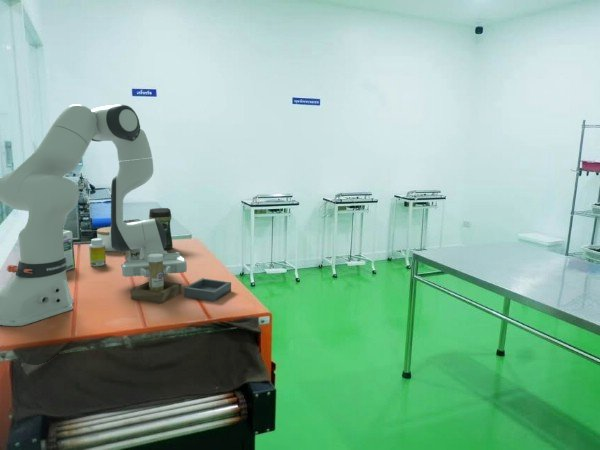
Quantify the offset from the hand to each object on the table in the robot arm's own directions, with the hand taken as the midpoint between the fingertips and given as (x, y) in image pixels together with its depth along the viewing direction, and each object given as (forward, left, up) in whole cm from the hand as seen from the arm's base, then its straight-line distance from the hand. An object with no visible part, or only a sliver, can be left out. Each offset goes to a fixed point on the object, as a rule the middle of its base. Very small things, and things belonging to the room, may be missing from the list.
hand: (156, 273), depth 142 cm
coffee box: (+33, +35, -8) cm, 48 cm away
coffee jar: (+53, +37, -8) cm, 65 cm away
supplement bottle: (+21, +43, -8) cm, 48 cm away
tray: (+9, -13, -8) cm, 18 cm away
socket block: (+1, +1, -8) cm, 8 cm away
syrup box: (+11, +50, -8) cm, 51 cm away
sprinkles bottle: (+1, +1, -8) cm, 8 cm away
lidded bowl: (+43, +55, -8) cm, 70 cm away
